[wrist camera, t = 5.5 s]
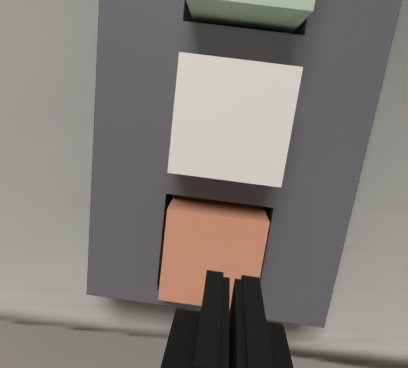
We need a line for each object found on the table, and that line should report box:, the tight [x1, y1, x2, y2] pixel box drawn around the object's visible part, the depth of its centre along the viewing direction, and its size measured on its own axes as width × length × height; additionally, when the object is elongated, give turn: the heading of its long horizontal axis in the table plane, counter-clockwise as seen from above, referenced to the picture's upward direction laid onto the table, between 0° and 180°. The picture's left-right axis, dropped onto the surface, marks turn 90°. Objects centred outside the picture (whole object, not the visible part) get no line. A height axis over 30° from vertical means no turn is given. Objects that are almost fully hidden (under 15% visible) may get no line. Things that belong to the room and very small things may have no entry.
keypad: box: [87, 0, 402, 328], centre depth 16 cm, size 19×12×3 cm, turn 173°
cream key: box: [167, 52, 303, 188], centre depth 14 cm, size 4×4×4 cm
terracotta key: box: [158, 195, 270, 310], centre depth 16 cm, size 4×4×4 cm
